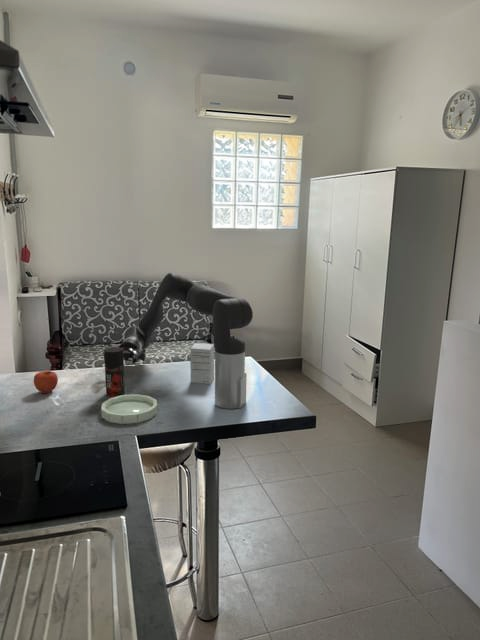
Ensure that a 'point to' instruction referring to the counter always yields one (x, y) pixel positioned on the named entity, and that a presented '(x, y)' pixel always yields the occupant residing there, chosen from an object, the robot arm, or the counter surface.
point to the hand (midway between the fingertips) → (121, 360)
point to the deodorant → (114, 371)
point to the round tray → (129, 409)
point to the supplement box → (202, 363)
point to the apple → (45, 381)
